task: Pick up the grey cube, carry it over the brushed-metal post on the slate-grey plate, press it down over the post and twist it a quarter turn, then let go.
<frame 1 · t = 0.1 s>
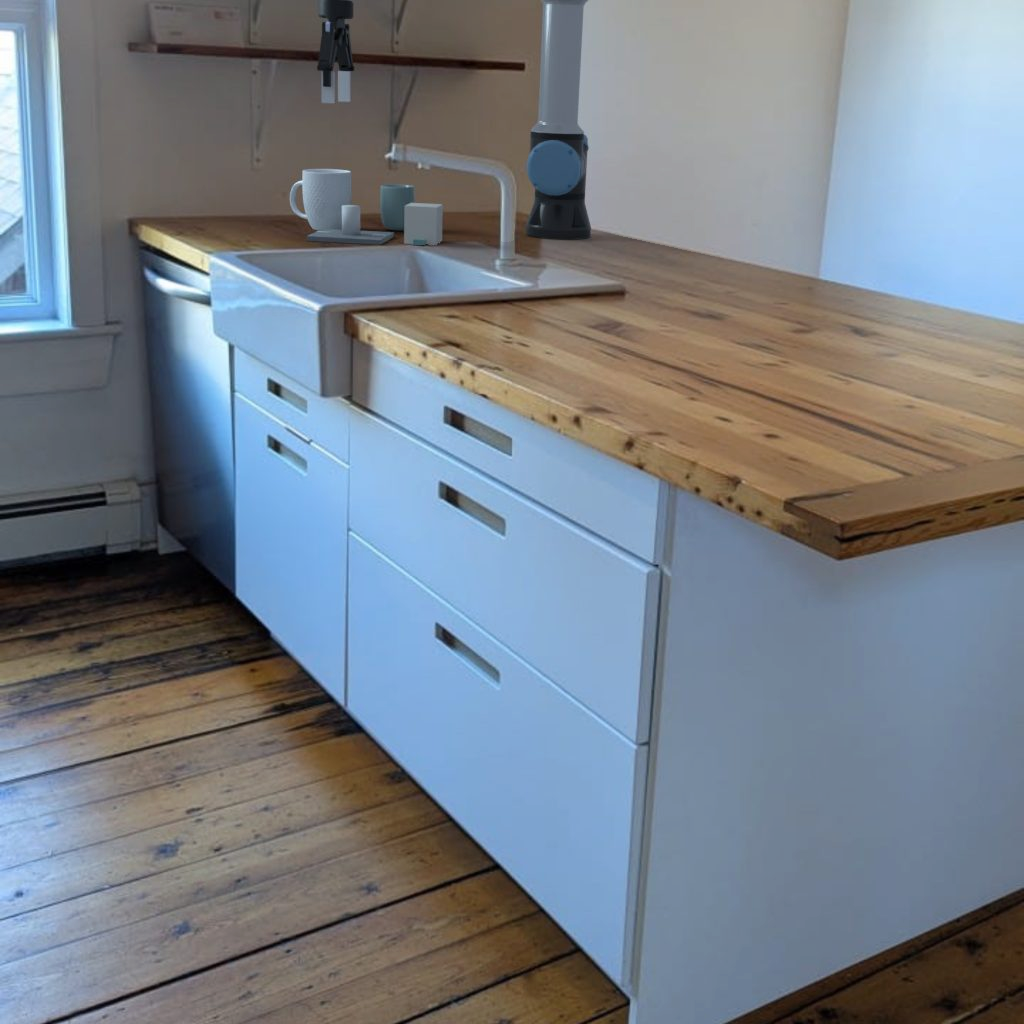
hand: (336, 102, 290), 28 cm above the worktop, fingers open, 13 cm apart
post plate: (351, 238, 287), on the worktop
mug: (323, 230, 302), on the worktop
cup: (397, 230, 305), on the worktop
grey cube: (423, 242, 286), on the worktop
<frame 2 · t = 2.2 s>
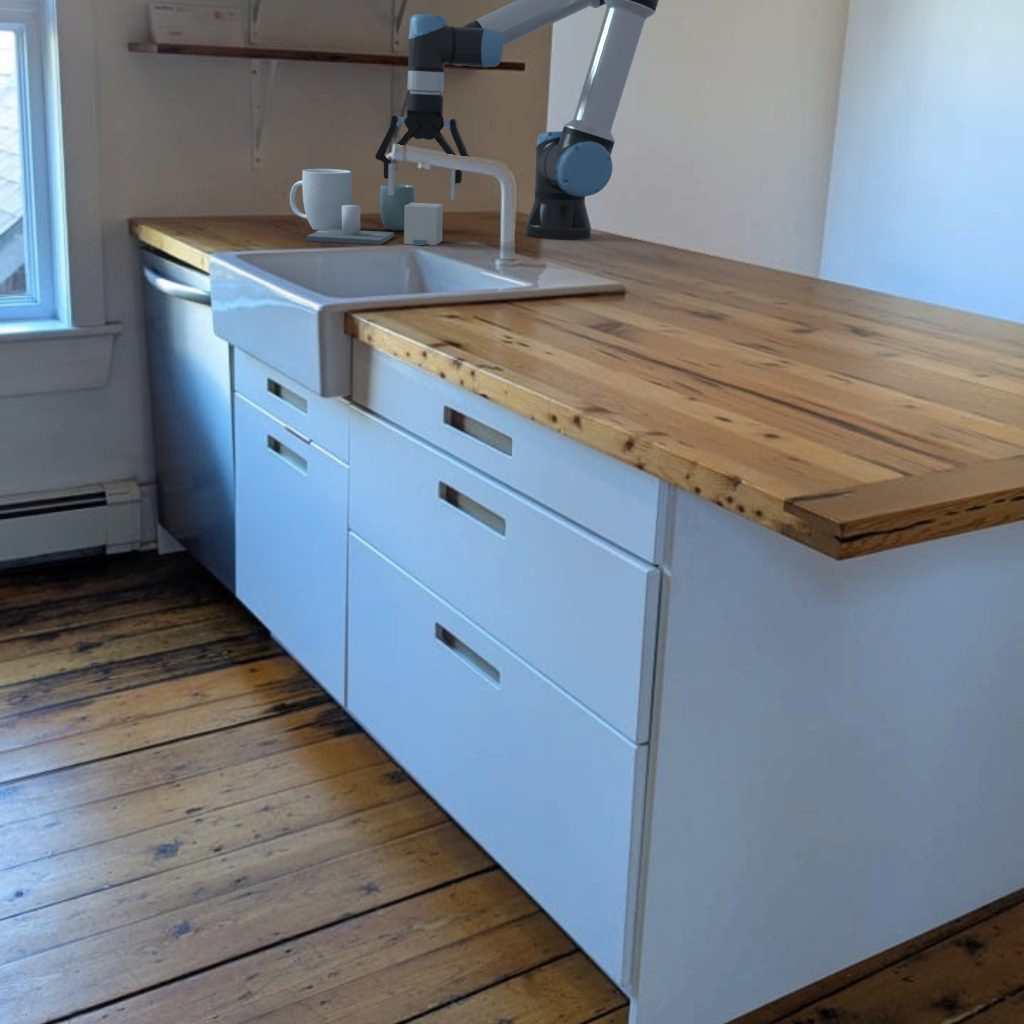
hand: (422, 197, 282), 10 cm above the worktop, fingers open, 13 cm apart
nothing on the worktop moved.
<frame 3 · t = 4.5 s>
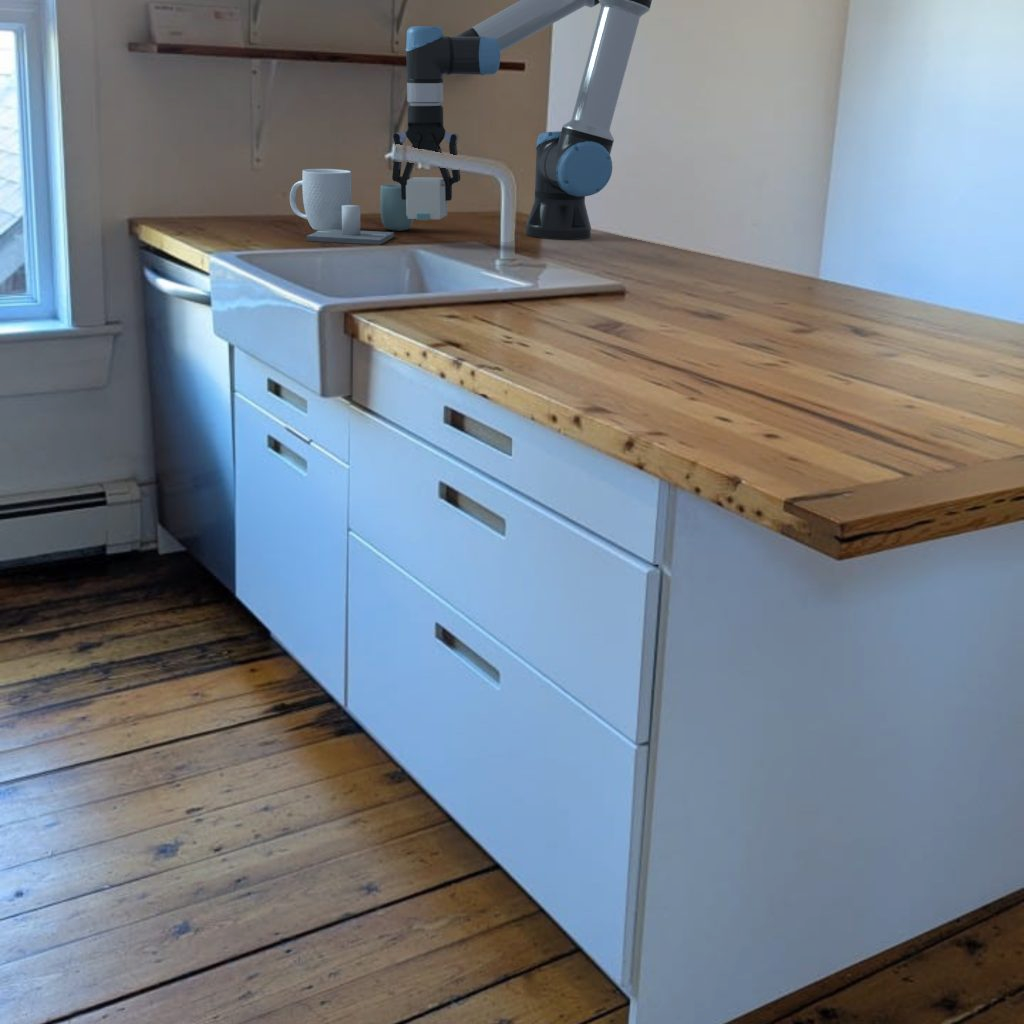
hand: (426, 215, 284), 6 cm above the worktop, fingers closed on grey cube, 7 cm apart
grey cube: (426, 217, 284), point 5 cm above the worktop, touching gripper
everything else where it was.
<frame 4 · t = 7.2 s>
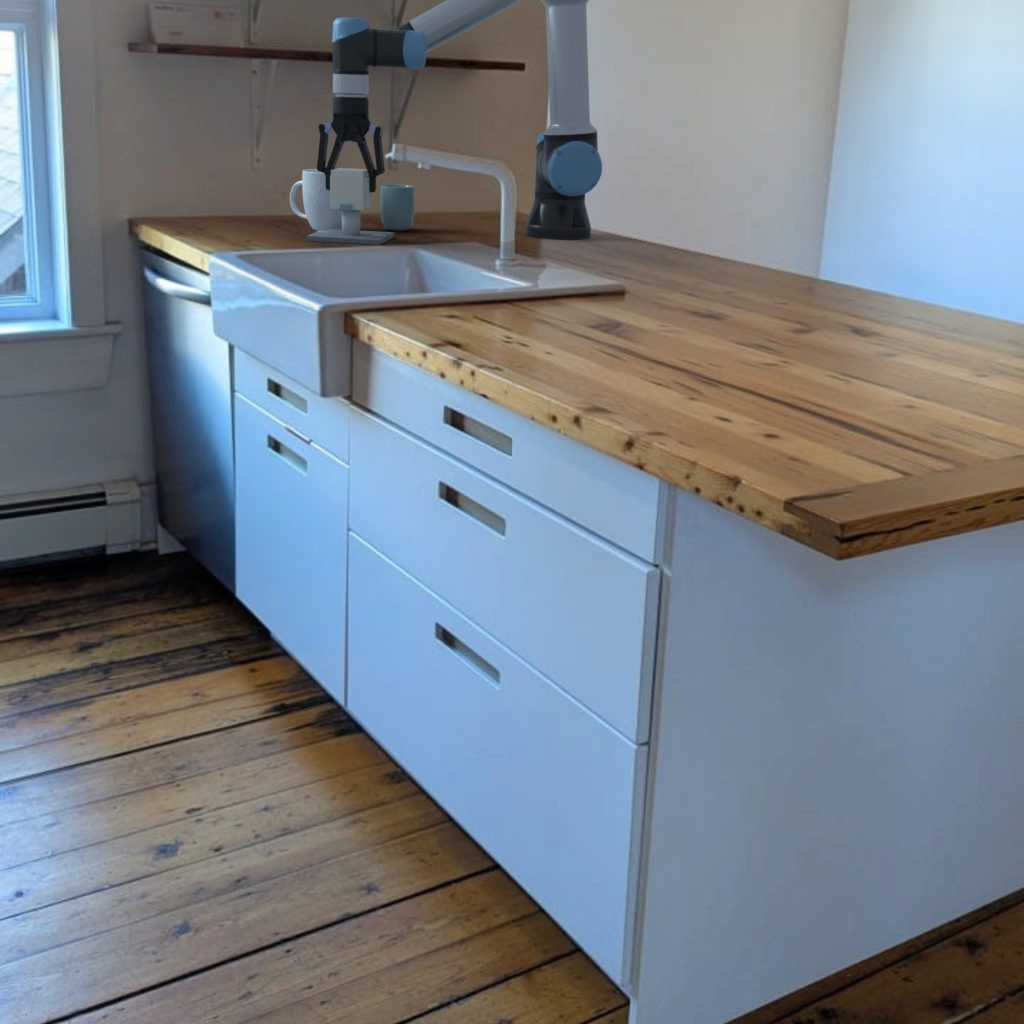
hand: (350, 206, 285), 7 cm above the worktop, fingers closed on grey cube, 7 cm apart
grey cube: (350, 207, 285), point 7 cm above the worktop, touching gripper
everything else where it was.
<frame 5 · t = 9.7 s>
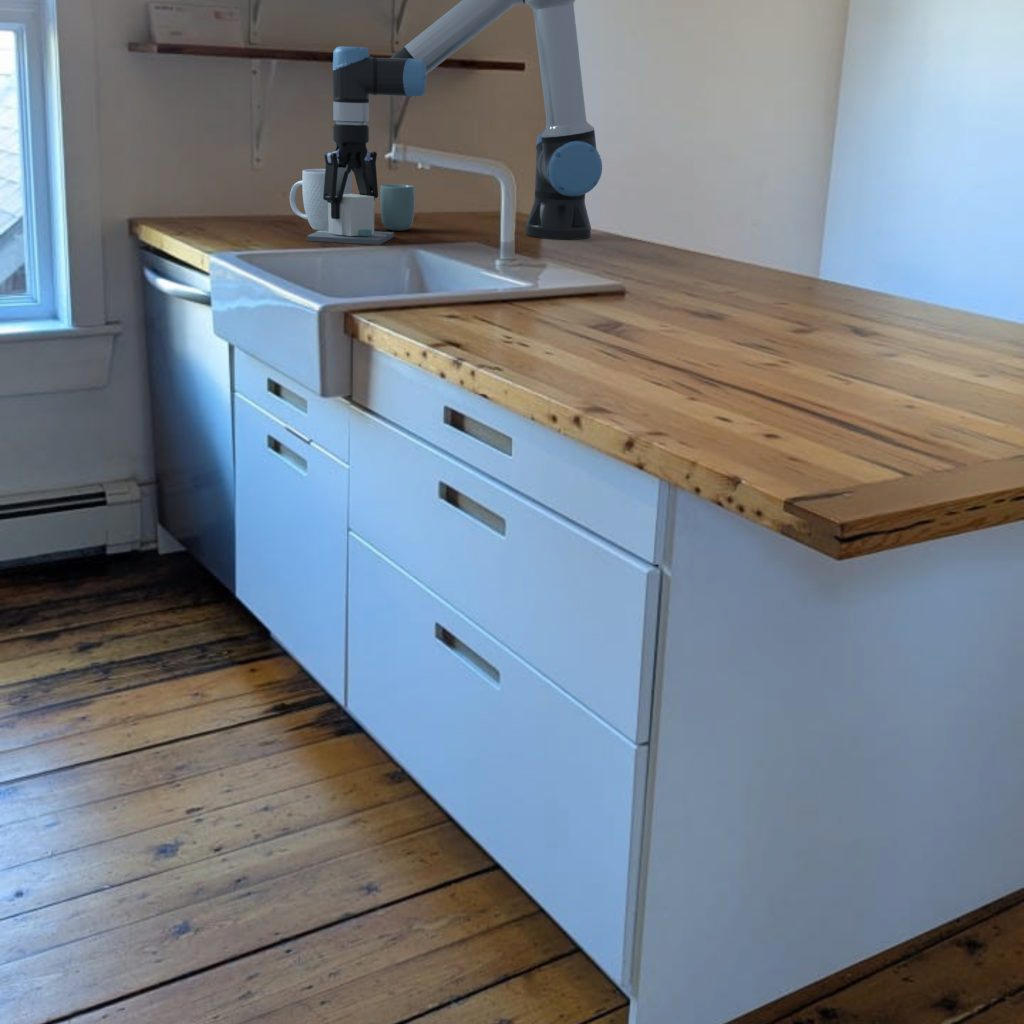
hand: (351, 232, 287), 1 cm above the worktop, fingers closed on grey cube, 7 cm apart
grey cube: (351, 233, 287), point 1 cm above the worktop, touching gripper
everything else where it was.
when the fingers open (1 cm above the worktop, at t = 10.6 s): grey cube stays where it is, resting on post plate.
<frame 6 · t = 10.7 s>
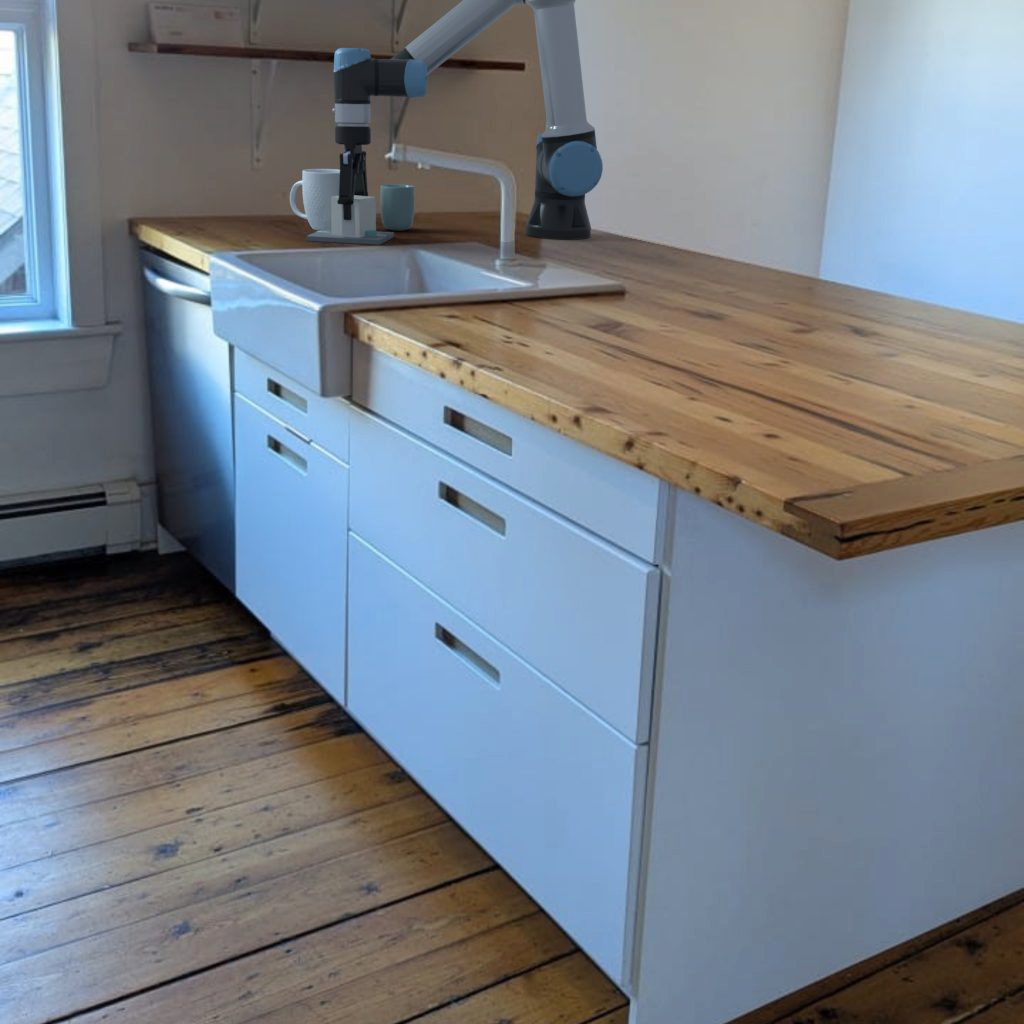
hand: (354, 233, 286), 1 cm above the worktop, fingers open, 9 cm apart
grey cube: (353, 234, 286), point 1 cm above the worktop, touching post plate
everything else where it was.
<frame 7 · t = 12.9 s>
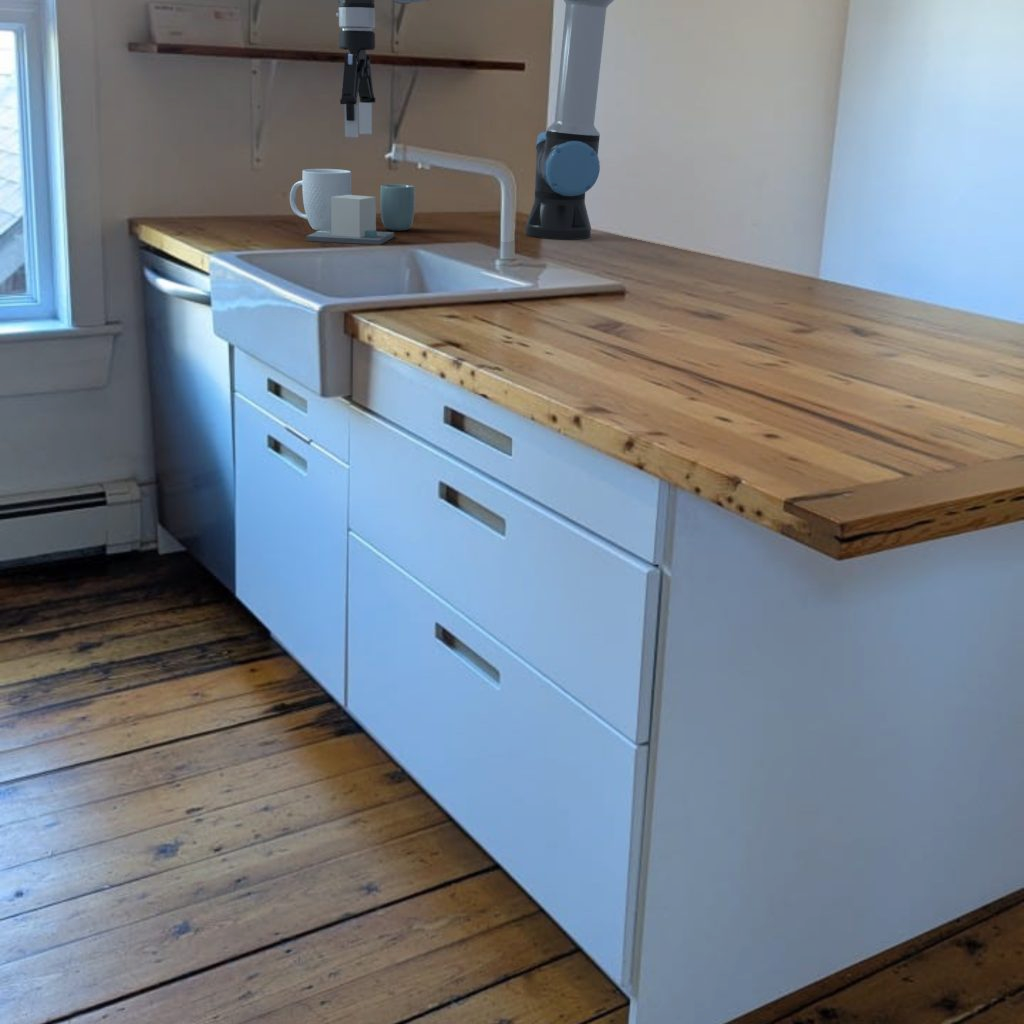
hand: (358, 135, 282), 22 cm above the worktop, fingers open, 13 cm apart
nothing on the worktop moved.
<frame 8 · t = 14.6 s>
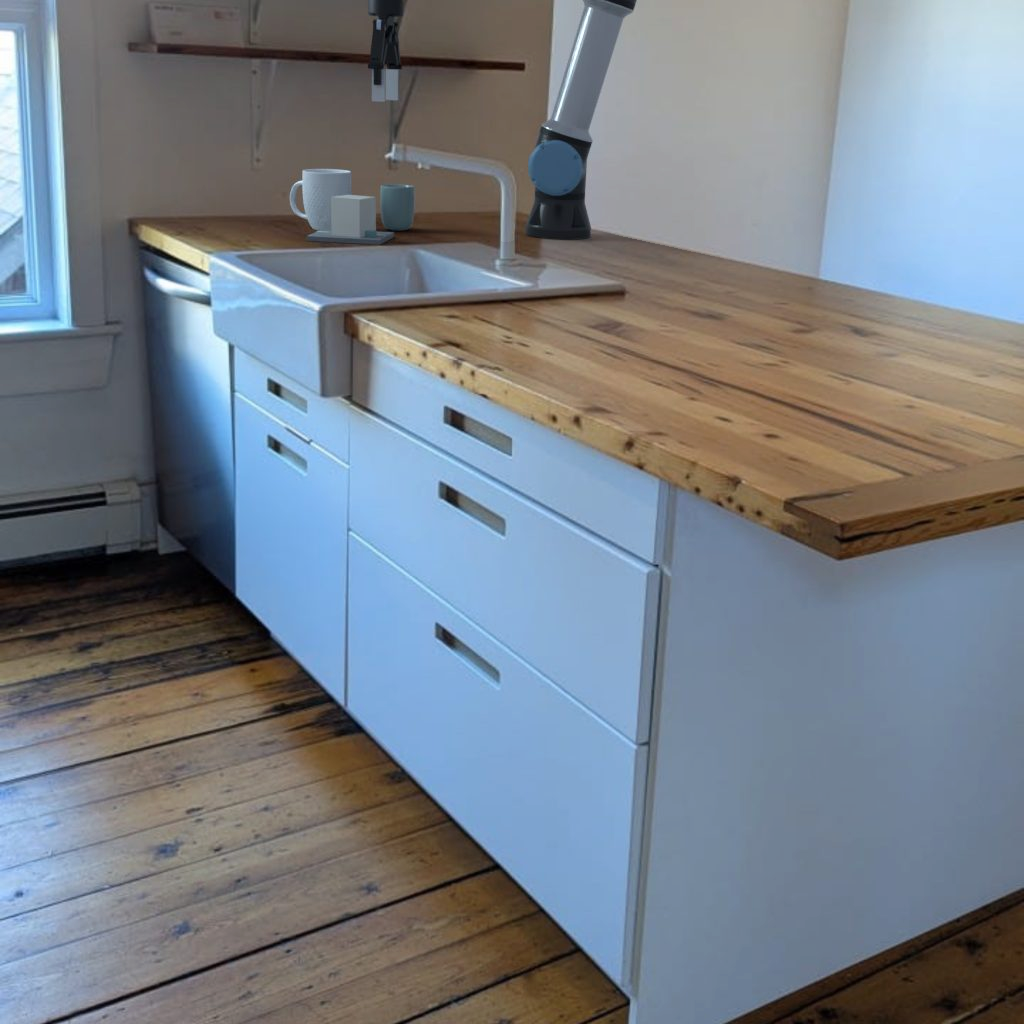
hand: (385, 101, 288), 29 cm above the worktop, fingers open, 13 cm apart
nothing on the worktop moved.
at the end: grey cube 0.8 cm from the post plate (horizontally); grey cube point 1.0 cm above the worktop; grey cube tilted 0° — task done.
